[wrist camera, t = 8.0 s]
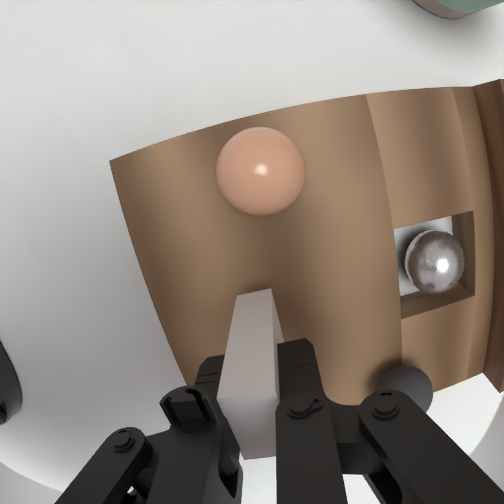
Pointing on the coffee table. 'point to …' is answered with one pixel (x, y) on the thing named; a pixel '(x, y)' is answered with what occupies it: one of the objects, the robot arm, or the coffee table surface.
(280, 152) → the clay ball
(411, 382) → the black ball
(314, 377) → the robot arm
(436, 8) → the coffee cup
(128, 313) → the coffee table surface
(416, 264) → the steel ball
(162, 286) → the wooden board
